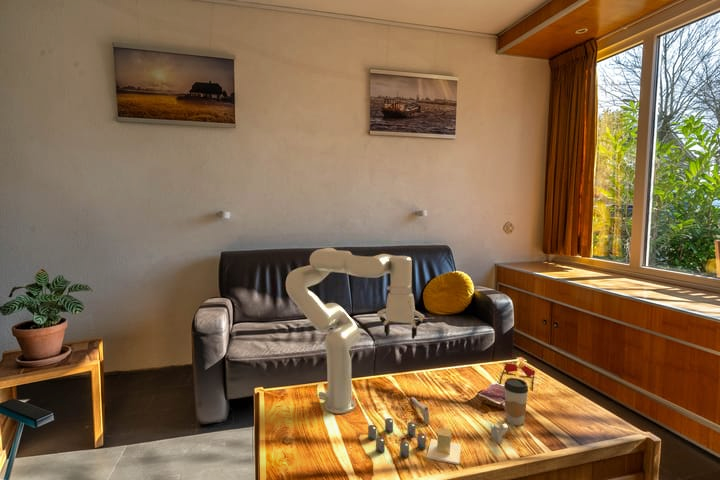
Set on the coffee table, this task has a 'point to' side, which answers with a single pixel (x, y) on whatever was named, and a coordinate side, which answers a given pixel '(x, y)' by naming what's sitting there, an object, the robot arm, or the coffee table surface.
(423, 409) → the caliper
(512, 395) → the coffee cup
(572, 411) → the coffee table surface
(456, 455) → the coaster
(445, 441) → the tan rectangular block
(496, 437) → the lighter
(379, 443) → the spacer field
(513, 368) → the glasses
